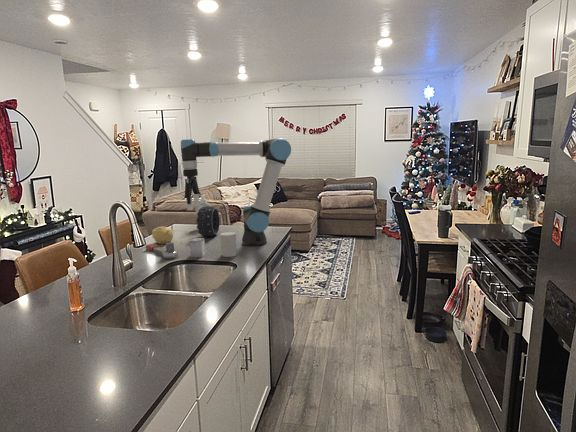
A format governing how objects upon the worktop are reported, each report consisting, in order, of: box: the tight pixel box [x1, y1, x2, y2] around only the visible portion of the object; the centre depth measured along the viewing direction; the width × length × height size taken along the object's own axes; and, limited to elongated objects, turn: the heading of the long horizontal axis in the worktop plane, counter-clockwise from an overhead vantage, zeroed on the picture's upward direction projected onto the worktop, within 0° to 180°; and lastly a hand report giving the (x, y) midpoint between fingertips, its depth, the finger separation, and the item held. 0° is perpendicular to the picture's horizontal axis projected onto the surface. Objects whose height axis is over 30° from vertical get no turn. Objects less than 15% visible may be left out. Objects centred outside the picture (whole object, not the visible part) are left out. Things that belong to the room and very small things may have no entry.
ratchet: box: [145, 241, 179, 260], centre depth 220 cm, size 30×8×8 cm, turn 45°
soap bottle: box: [195, 194, 212, 217], centre depth 281 cm, size 13×8×24 cm, turn 83°
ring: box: [195, 205, 221, 237], centre depth 257 cm, size 11×20×20 cm, turn 174°
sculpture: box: [151, 225, 174, 245], centre depth 245 cm, size 12×12×11 cm
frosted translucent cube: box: [189, 237, 206, 258], centre depth 214 cm, size 7×7×9 cm
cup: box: [220, 231, 238, 258], centre depth 212 cm, size 8×8×12 cm
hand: (193, 207), depth 210 cm, fingers open, 13 cm apart
